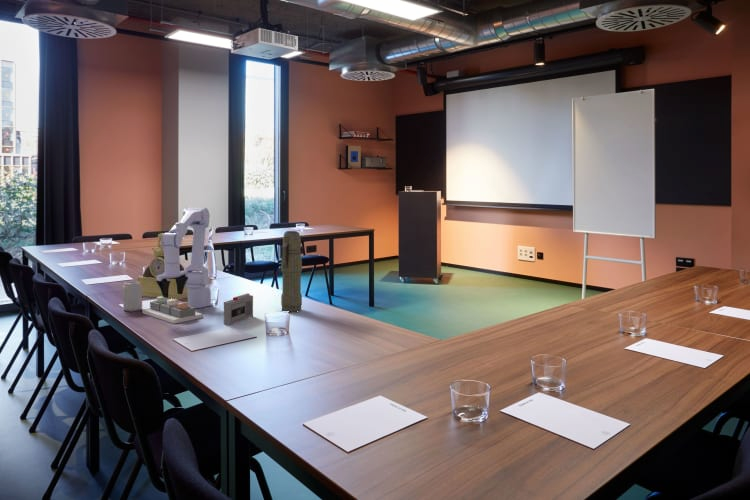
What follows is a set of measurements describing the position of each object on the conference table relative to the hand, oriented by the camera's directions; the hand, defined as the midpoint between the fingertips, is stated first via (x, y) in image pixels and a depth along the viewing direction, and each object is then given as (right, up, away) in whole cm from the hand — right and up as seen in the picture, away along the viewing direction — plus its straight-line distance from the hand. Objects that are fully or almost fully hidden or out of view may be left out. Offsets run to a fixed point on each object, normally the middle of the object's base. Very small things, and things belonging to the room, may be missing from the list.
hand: (172, 295), depth 220 cm
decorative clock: (-22, -4, +45) cm, 51 cm away
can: (-23, -7, +14) cm, 28 cm away
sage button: (-9, -5, +11) cm, 15 cm away
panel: (-2, -9, +6) cm, 11 cm away
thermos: (+45, -8, +19) cm, 50 cm away
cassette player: (+27, -10, +1) cm, 29 cm away
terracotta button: (+4, -6, +1) cm, 7 cm away
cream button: (-2, -6, +6) cm, 8 cm away
